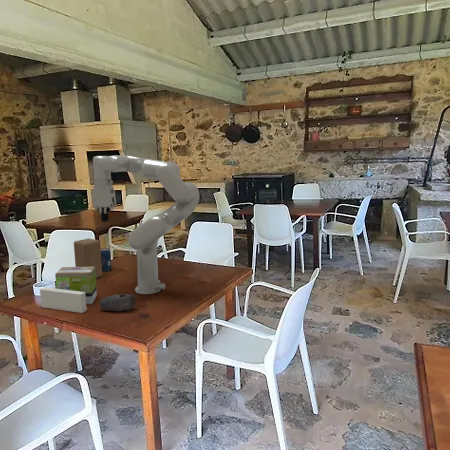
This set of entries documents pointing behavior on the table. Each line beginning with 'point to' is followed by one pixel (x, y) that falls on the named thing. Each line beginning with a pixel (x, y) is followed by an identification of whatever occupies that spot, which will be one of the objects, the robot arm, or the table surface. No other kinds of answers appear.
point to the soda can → (105, 259)
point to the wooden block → (88, 254)
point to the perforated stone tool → (118, 302)
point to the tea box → (78, 281)
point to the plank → (63, 299)
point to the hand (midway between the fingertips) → (105, 221)
